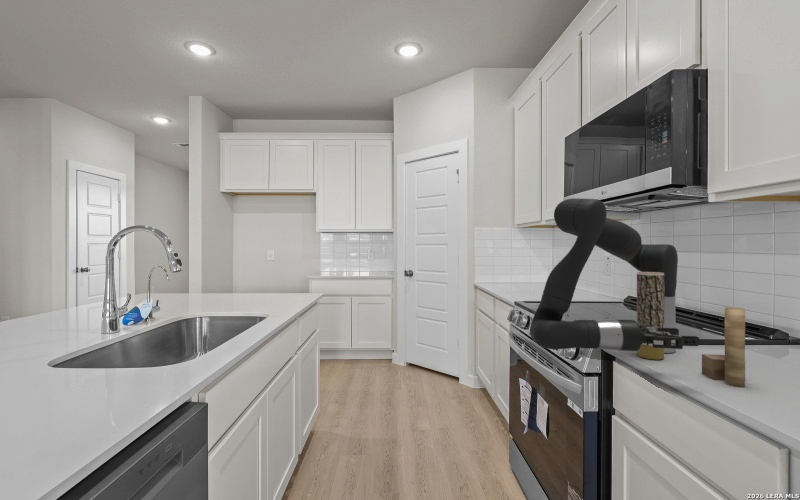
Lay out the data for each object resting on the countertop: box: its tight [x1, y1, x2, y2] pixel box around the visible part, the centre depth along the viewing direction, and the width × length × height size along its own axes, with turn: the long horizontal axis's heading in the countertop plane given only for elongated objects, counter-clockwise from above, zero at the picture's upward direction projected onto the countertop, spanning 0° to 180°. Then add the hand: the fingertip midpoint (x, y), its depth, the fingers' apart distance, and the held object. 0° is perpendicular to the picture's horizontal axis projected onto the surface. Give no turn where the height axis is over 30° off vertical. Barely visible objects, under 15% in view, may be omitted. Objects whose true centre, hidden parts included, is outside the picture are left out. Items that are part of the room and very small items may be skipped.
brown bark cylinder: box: [636, 271, 665, 361], centre depth 113 cm, size 7×7×25 cm
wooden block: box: [701, 353, 725, 381], centre depth 95 cm, size 7×4×5 cm, turn 80°
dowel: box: [724, 306, 746, 388], centre depth 90 cm, size 4×4×18 cm
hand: (687, 336), depth 92 cm, fingers open, 8 cm apart
